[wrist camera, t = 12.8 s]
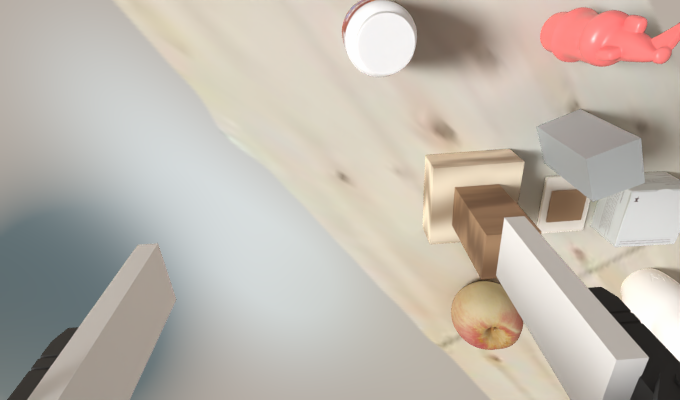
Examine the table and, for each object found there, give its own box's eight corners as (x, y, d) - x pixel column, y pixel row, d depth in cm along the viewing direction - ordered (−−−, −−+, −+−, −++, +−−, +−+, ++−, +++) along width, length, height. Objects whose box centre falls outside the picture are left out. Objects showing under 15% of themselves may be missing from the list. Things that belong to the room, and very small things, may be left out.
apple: (507, 310, 60) (531, 353, 53) (447, 321, 61) (463, 365, 54) (506, 264, 56) (532, 304, 49) (442, 276, 57) (459, 317, 50)
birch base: (425, 154, 48) (433, 168, 44) (509, 148, 48) (524, 161, 45) (422, 227, 53) (429, 244, 49) (499, 221, 53) (512, 238, 49)
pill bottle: (393, -13, 40) (416, -12, 30) (408, 51, 43) (433, 70, 33) (333, 9, 40) (336, 17, 31) (351, 70, 43) (360, 95, 33)
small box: (588, 226, 54) (612, 248, 49) (604, 172, 50) (632, 190, 46) (646, 224, 54) (675, 245, 50) (666, 169, 50) (700, 187, 46)
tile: (545, 176, 50) (549, 179, 49) (594, 172, 50) (598, 175, 49) (535, 231, 54) (538, 234, 53) (580, 228, 54) (584, 231, 53)
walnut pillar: (454, 187, 46) (486, 235, 37) (499, 183, 46) (541, 231, 37) (451, 225, 48) (481, 279, 39) (494, 222, 48) (532, 275, 39)
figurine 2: (605, 304, 60) (665, 371, 50) (631, 262, 57) (702, 326, 46) (647, 309, 61) (716, 377, 50) (676, 269, 58) (756, 332, 47)
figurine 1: (562, -8, 40) (678, -5, 27) (594, 24, 42) (720, 41, 29) (524, 37, 42) (616, 61, 29) (557, 66, 44) (658, 101, 31)
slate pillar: (536, 126, 47) (586, 159, 38) (580, 108, 46) (641, 138, 37) (544, 163, 49) (593, 201, 40) (586, 146, 48) (644, 182, 40)
